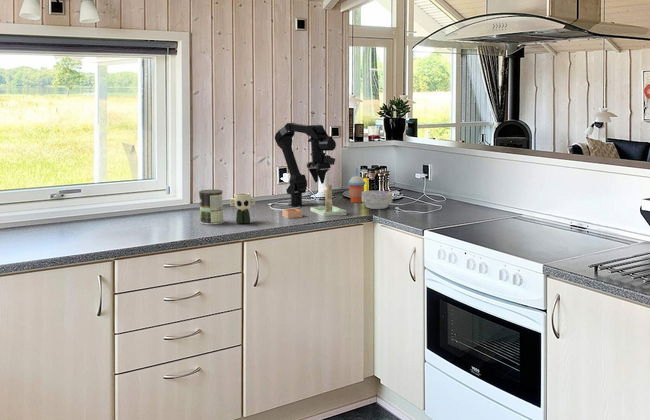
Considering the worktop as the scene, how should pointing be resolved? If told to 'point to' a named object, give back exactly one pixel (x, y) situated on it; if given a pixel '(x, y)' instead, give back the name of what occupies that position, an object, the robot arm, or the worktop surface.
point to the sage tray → (323, 212)
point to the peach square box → (292, 213)
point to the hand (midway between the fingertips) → (319, 183)
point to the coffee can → (211, 207)
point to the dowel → (328, 198)
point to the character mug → (242, 206)
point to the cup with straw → (356, 188)
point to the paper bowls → (376, 199)
